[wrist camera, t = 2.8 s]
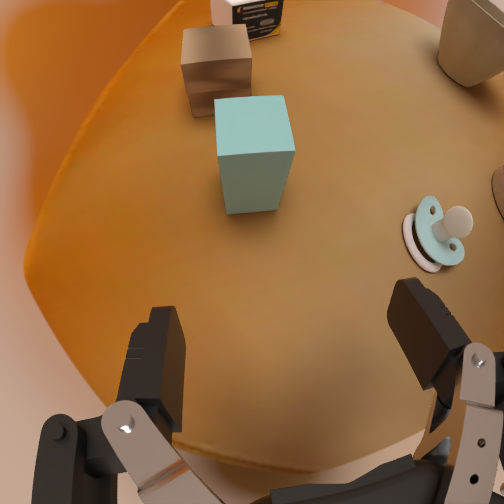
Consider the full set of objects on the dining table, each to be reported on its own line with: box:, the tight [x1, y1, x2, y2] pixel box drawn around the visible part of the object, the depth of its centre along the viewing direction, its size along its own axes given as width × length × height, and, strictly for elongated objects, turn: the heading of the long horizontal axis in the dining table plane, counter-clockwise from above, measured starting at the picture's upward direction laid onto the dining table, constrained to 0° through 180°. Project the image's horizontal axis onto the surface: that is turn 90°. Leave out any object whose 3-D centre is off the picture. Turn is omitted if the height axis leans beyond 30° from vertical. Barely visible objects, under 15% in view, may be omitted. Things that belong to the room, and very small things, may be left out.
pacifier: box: [403, 196, 473, 272], centre depth 23 cm, size 7×6×6 cm
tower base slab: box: [188, 88, 251, 118], centre depth 27 cm, size 6×6×4 cm
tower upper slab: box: [181, 24, 252, 94], centre depth 23 cm, size 6×6×4 cm
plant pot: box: [438, 0, 504, 87], centre depth 25 cm, size 15×15×16 cm
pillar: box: [214, 95, 295, 215], centre depth 22 cm, size 4×4×10 cm
